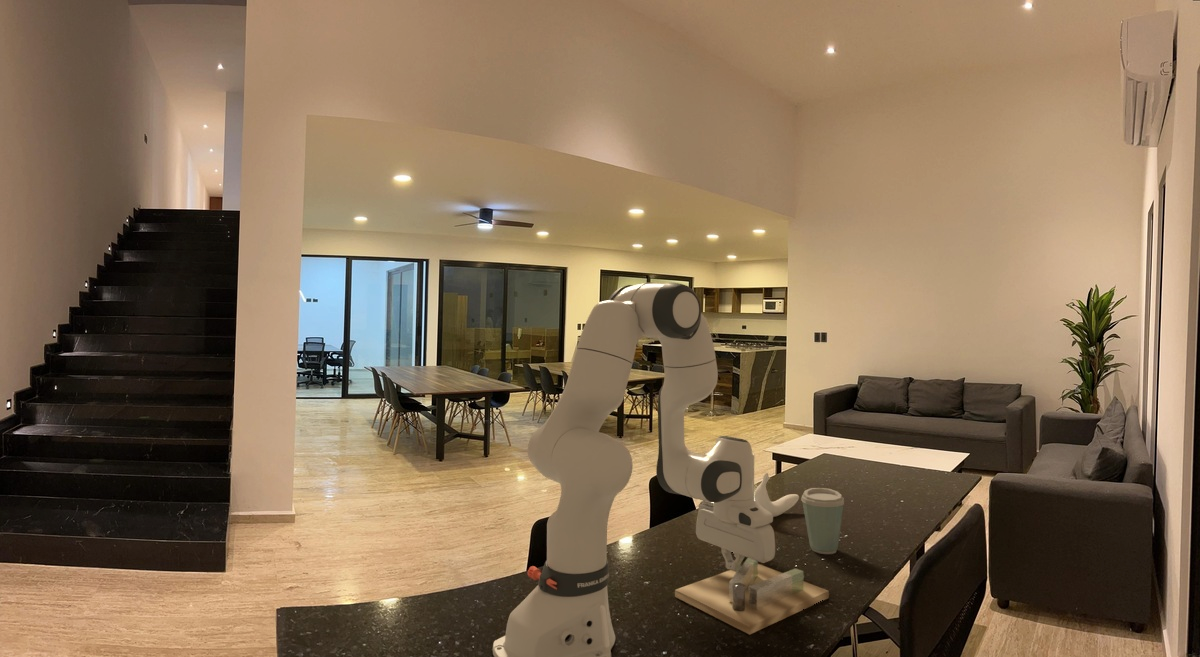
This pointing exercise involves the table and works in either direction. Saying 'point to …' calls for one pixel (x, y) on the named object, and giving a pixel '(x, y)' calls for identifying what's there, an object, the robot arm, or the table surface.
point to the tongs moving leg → (742, 583)
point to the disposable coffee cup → (823, 518)
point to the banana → (776, 506)
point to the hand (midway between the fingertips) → (733, 569)
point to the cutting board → (747, 601)
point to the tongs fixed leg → (775, 588)
